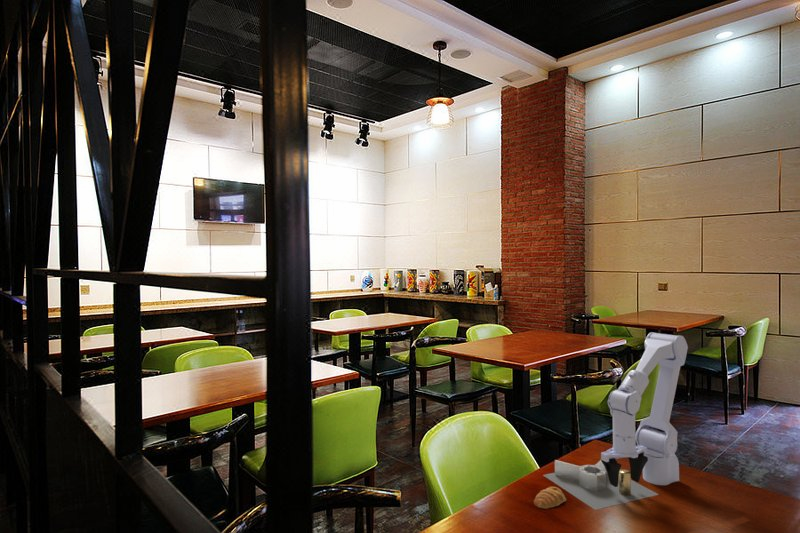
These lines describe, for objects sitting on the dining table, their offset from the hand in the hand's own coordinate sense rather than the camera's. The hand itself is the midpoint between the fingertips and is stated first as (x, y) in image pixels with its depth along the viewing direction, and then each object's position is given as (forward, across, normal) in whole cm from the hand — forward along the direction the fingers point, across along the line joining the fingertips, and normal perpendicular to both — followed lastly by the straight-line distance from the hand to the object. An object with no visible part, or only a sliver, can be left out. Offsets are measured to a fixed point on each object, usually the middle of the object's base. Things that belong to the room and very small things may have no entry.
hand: (624, 482), depth 132 cm
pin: (+3, 0, 0) cm, 3 cm away
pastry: (+4, -22, +5) cm, 23 cm away
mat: (+4, -3, +7) cm, 9 cm away
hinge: (+3, -3, +10) cm, 11 cm away
